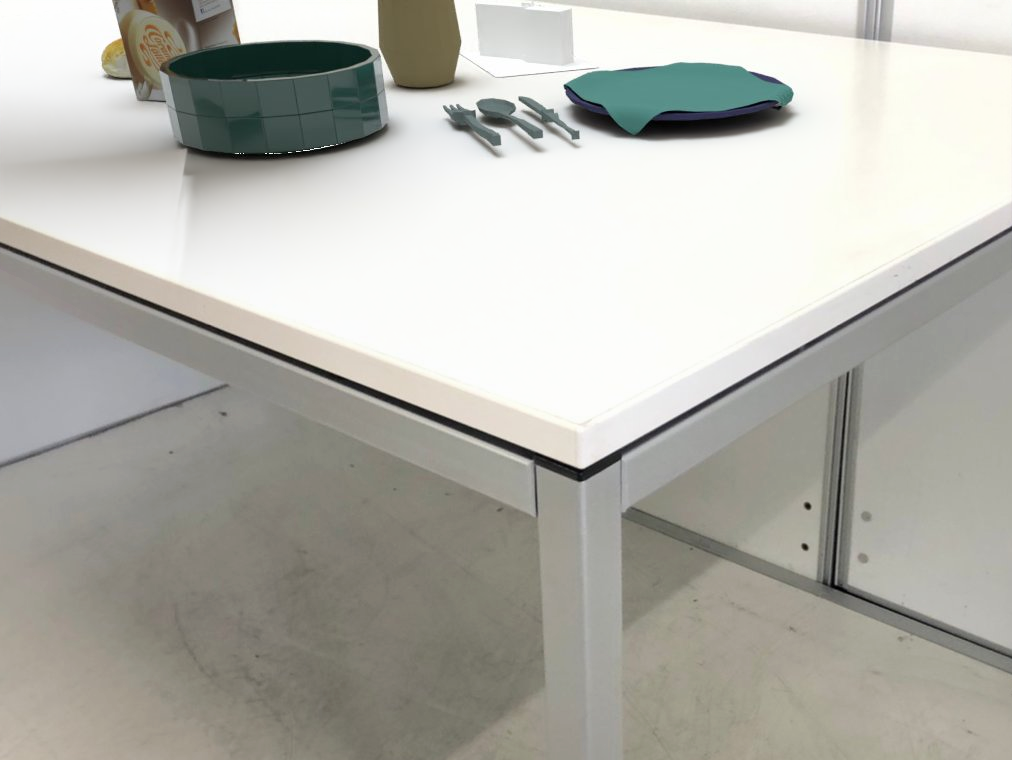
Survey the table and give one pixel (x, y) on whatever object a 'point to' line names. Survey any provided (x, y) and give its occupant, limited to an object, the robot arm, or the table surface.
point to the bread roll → (115, 60)
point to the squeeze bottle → (419, 41)
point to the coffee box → (170, 35)
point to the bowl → (275, 95)
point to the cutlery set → (645, 97)
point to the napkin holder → (524, 39)
